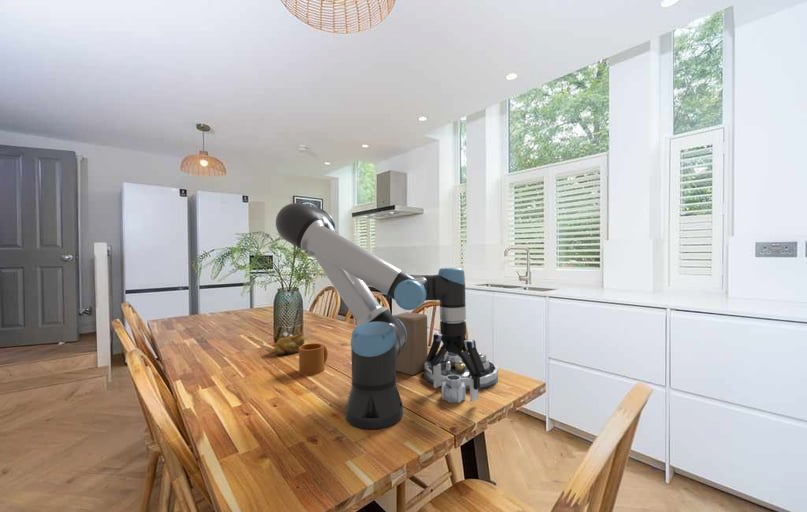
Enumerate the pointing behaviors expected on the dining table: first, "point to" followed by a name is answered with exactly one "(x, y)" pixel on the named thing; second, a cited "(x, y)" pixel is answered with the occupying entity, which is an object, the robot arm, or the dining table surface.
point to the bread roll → (289, 345)
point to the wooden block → (413, 343)
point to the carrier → (463, 370)
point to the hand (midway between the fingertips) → (455, 392)
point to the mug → (312, 358)
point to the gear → (453, 389)
